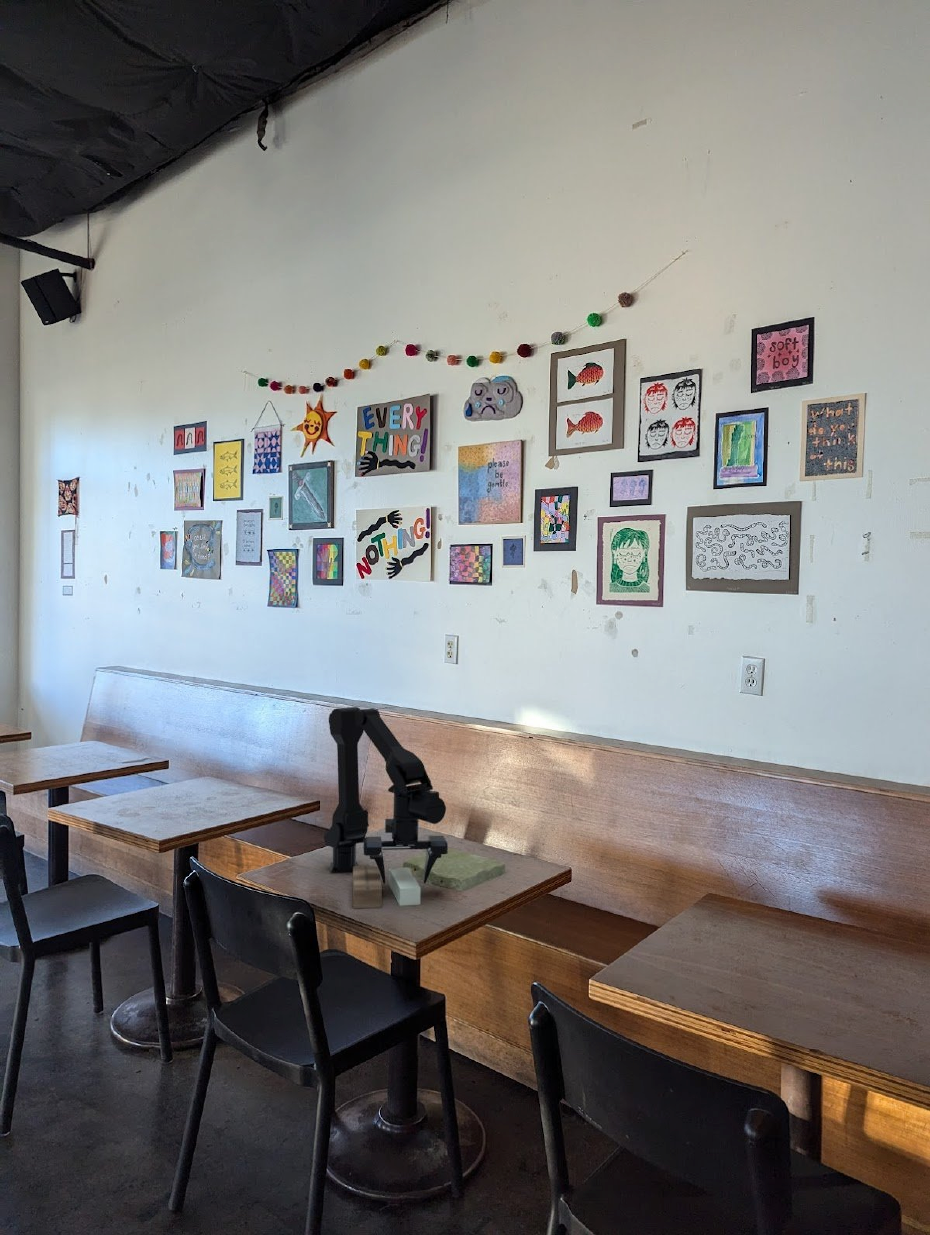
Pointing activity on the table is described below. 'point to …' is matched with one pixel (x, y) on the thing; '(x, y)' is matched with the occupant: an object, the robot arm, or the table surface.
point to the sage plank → (404, 886)
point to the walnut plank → (366, 887)
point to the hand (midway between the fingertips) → (404, 883)
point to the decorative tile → (456, 869)
